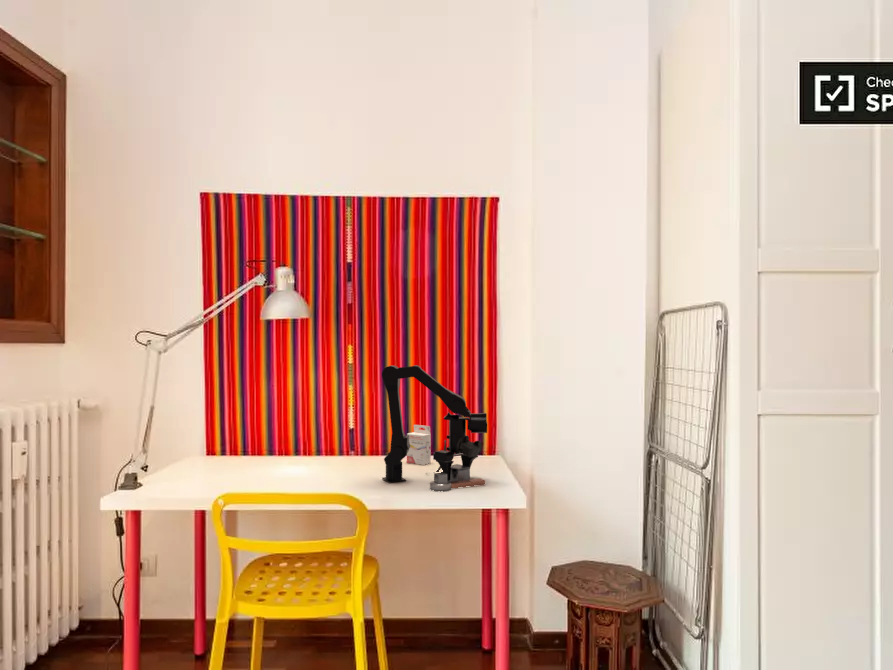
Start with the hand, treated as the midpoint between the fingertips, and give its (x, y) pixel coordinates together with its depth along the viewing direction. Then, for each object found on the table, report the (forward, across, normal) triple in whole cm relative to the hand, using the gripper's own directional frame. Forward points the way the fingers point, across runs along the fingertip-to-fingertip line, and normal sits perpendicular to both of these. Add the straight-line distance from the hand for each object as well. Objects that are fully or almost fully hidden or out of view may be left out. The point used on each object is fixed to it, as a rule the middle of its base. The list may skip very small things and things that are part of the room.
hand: (457, 478), depth 216 cm
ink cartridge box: (+1, +13, +32) cm, 34 cm away
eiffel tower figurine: (+2, +8, +13) cm, 16 cm away
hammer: (+1, -6, -5) cm, 8 cm away
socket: (+1, 0, 0) cm, 1 cm away
